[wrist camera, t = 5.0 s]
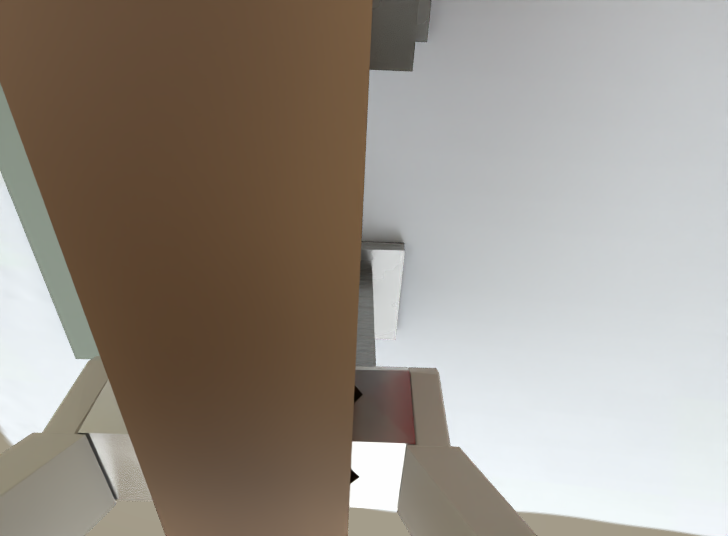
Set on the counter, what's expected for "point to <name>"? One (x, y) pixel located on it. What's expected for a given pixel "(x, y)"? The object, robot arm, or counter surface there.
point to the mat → (42, 235)
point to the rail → (210, 235)
